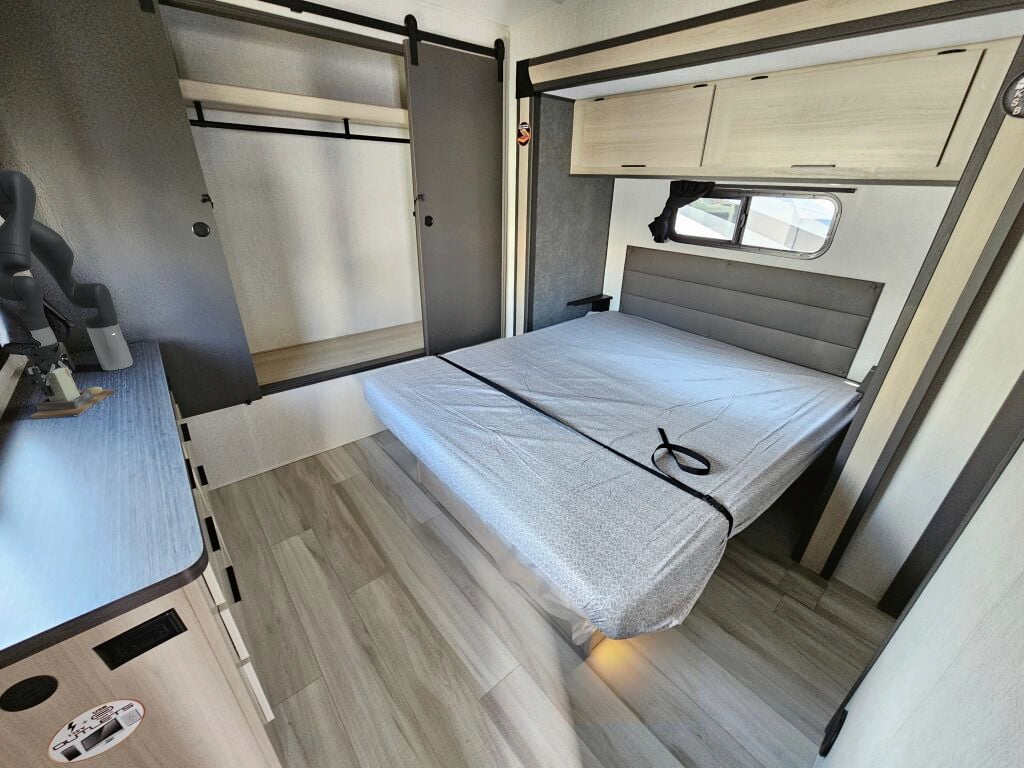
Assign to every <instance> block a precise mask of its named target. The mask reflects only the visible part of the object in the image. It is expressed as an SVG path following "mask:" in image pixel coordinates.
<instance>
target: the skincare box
mask: <svg viewBox="0 0 1024 768" xmlns="http://www.w3.org/2000/svg"><path fill="white" fill-rule="evenodd" d="M52 374H53V377H52V378H51V379H50V385H51V387H52V389H53V391H54V393H55V395H54V396H52V397H49V399H50V401H51V402H57V401H72V400H74V399H76V398H77V397H79V396H80V393H79V391H80V390H79V389H78V387H77V385H76V383H75V380H74V378H72V377H73V376H71V375H72V373H71V374H70V372H69V369H68V368H58V369H56V370H54V371H53V372H52ZM43 375H44V374H42V376H43ZM43 382H45V379H43Z"/></svg>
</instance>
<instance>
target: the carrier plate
mask: <svg viewBox="0 0 1024 768" xmlns="http://www.w3.org/2000/svg"><path fill="white" fill-rule="evenodd" d="M78 391H79V393H80V396H79V397H77V398H76V399H74V400H72V401H57V402H51V401H50V399H49V397H46V396H45V398H42V399H41V400H39V401H38V402H36V403H35V407H36V410H37V411H36V412H34V413H32V414H30V417H31V419H32V420H35V419H38V418H39V419H51V418H50V417H57V418H65V417H64V416H74V415H79V414H80V413H82V412H83V411H85V410H86V409H88V408H90V407H91V406H93V405H94V404H96V403H97V402H99V401H101V400H102V399H104V398H105V397H107V396H108V397H110V396H111V395H112V393H113V394H114V393H115V390H114V389H113V388H105V389H103V388H102V387H101V386H92V387H89V388H85V389H83V390H78ZM110 394H111V395H110ZM109 395H110V396H109ZM108 397H107V398H108ZM105 399H106V398H105ZM105 399H104V400H105ZM102 401H103V400H102ZM102 401H101V402H102ZM99 403H100V402H99ZM96 405H97V404H96ZM93 407H94V406H93ZM90 409H91V408H90ZM48 417H49V418H48Z"/></svg>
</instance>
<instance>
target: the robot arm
mask: <svg viewBox="0 0 1024 768" xmlns="http://www.w3.org/2000/svg"><path fill="white" fill-rule="evenodd" d="M36 202H37V195H36V188H35V186H34V184H33V182H32V181H31V179H30V178H29V177H28V175H26V174H24V173H23V172H21V171H18V170H17V171H16V170H7V169H0V218H2V220H4V221H3V222H2V224H1V225H0V297H1V298H4V299H6V300H11V301H10V302H16V301H18V302H20V301H21V302H23V301H25V306H24V308H23V307H21V308H22V309H21V310H20V311H19V316H20V318H21V319H22V322H25V325H26V327H27V328H28V330H29V331H30V332H31V334H32V337H33V338H34V339H35V340H37V341H39V342H40V343H41V346H39V348H37V347H36V348H35V349H34V350H33V349H32V350H30V352H33V353H34V354H37V355H40V354H41V355H40V356H30V355H25V357H26V359H27V360H28V361H31V362H32V363H33V366H32V367H25V368H24V371H25V374H26V376H27V378H28V381H29V384H30V386H31V387H39V388H40V390H41V392H42V395H44V397H45V398H46V397H52V396H54V395H55V393H54V391H53V389H52V387H51V385H50V379H51V378H52V377H53V374H52V372H53V371H54V370H56V369H58V368H68V369H69V372H70V374H71V376H72V374H73V372H72V371H75V370H76V366H75V365H74V362H73V360H72V359H71V356H70V354H69V353H67V352H63V351H62V349H61V347H60V345H59V346H58V344H59V342H58V340H57V337H56V335H55V333H54V331H53V329H52V328H51V327H50V324H49V321H48V319H47V316H46V315H45V311H44V298H43V297H44V290H43V286H42V284H41V283H40V281H38V280H37V278H35V277H33V276H31V275H30V276H29V275H16V274H19V273H23V272H27V271H29V270H31V269H32V256H31V255H33V256H34V257H35V258H36V259H37V260H38V261H39V263H40V264H42V265H43V267H44V268H45V269H46V270H47V272H48V273H49V274H50V276H51V277H52V279H53V280H54V281H55V282H56V284H57V285H58V287H59V288H60V290H61V291H62V294H64V296H65V297H66V299H67V300H68V301H69V302H70V304H71V305H73V306H74V307H75V308H78V309H97V314H95V315H92V316H89V317H87V318H85V319H83V321H84V322H83V324H84V326H85V327H86V331H87V333H88V335H89V338H90V341H91V343H92V346H93V348H94V351H95V353H96V357H97V359H98V361H99V364H100V366H101V368H102V370H103V371H119V370H122V369H126V368H127V369H128V368H129V367H131V366H133V363H134V360H133V357H132V354H131V352H130V348H129V347H128V343H127V341H126V340H125V337H124V335H123V333H122V330H121V327H120V324H119V321H118V317H117V312H116V309H115V305H114V302H113V297H112V294H111V293H110V292H111V291H110V290H109V288H108V286H106V285H105V284H104V283H101V282H90V283H89V282H87V283H86V282H81V283H80V282H78V281H76V279H75V278H74V277H73V275H72V271H73V269H72V268H73V265H74V262H75V254H74V251H73V250H72V248H71V247H70V246H69V245H68V243H67V241H66V240H65V239H64V238H63V236H61V234H59V233H58V232H57V231H55V230H54V229H53V228H51V227H49V226H47V225H46V224H44V223H42V222H40V221H38V220H36V219H34V218H35V217H34V216H35V210H36ZM31 253H32V254H31ZM56 346H58V351H57V352H56V353H53V354H48V352H49V351H50V349H53V348H55V347H56ZM118 369H119V370H118ZM42 374H44V375H43V376H42ZM72 378H73V376H72ZM43 379H45V382H43ZM73 379H74V378H73Z"/></svg>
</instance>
